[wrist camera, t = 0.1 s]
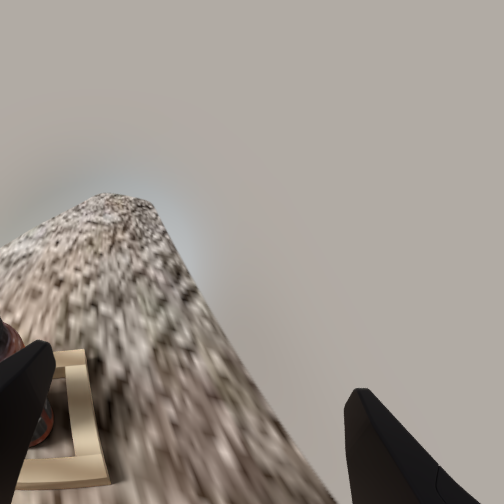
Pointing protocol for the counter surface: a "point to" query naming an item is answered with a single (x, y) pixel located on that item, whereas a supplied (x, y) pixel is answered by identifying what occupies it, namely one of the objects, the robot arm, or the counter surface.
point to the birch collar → (83, 431)
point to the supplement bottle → (9, 342)
